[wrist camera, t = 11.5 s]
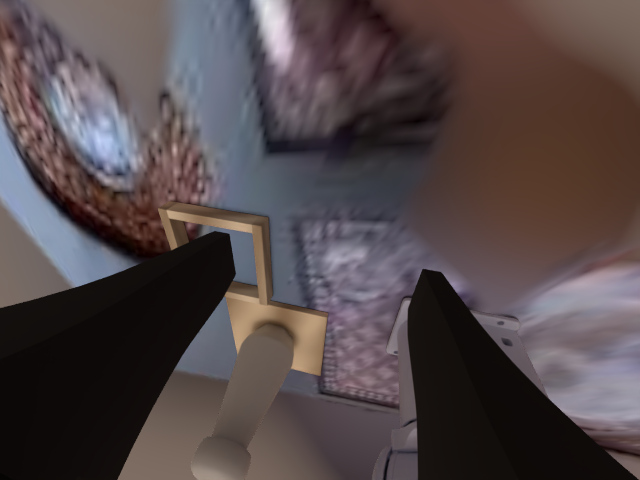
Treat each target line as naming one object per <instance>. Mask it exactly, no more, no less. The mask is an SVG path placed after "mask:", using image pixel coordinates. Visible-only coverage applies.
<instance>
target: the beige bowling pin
mask: <svg viewBox="0 0 640 480" xmlns="http://www.w3.org/2000/svg"><path fill="white" fill-rule="evenodd" d="M293 357H294V349H293V338H292V336H291V335H290V334H289V333H288V332H287V331H286V329H285V328H284V327H281V326H277V325H273V324H270V323H267V324H265V325H263V326H262V327H260V328H258V329H257V330H256V331H254V332H253V333H251V334H250V335H249V336H248V337H247V338H246V339H245V340H244V341H243V343H242V344H241V347H240V350H239V353H238V356H237V359H236V362H235V366H234V369H233V372H232V375H231V378H230V381H229V384H228V387H227V390H226V394H225V397H224V400H223V403H222V406H221V409H220V412H219V415H218V418H217V422H216V425H215V428H214V431H213V434H212V437H206V438H205V439H203V441H202V442H201V443H200V445H199V446H198V448H197V450H196V452H195V453H194V456H193V459H192V462H191V469H192V473H193V475H194V476H195V477H196V478H197V479H198V480H245V478H246V476H247V473H248V470H249V466H250V460H251V455H250V453H249V452H248V451H247V447H248V445H249V443H250V441H251V440H252V438H253V436H254V434H255V432H256V430H257V429H258V427H259V425H260V423H261V421H262V420H263V418H264V416H265V414H266V412H267V410H268V409H269V407H270V405H271V403H272V401H273V400H274V398H275V396H276V394H277V392H278V390H279V389H280V387H281V385H282V383H283V381H284V380H285V378H286V376H287V374H288V372H289V371H290V369H291V367H292V364H293Z"/></svg>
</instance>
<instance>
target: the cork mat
mask: <svg viewBox="0 0 640 480" xmlns="http://www.w3.org/2000/svg"><path fill="white" fill-rule="evenodd" d="M226 300H227V305H228V309H229V314H230V319H231V324H232V329H233V334H234V339H235V344H236V349H237V354H238V353H239V350H240V347H241V344H242V343H243V341H244V340H245V339H246V338H247V337H248V336H249V335H250V334H251V333H253V332H254V331H256V330H257V329H258V328H260V327H262V326H263V325H265V324H267V323H270V324H273V325H277V326H281V327H284V328H285V329H286V331H287V332H288V333H289V334H290V335H291V336H292V338H293V349H294V357H293V364H292V367H291V369H295V370H299V371H303V372H307V373H311V374H315V375H319V376H320V374H321V368H322V360H323V351H324V343H325V334H326V326H327V318H328V313H326V312H321V311H316V310H312V309H307V308H302V307H298V306H293V305H288V304H284V303H279V302H275V301H270V302H269V304H268V306H265V305H260V304H256V303H251V302H247V301H242V300H238V299H233V298H228V297H226Z"/></svg>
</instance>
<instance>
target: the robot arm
mask: <svg viewBox="0 0 640 480" xmlns="http://www.w3.org/2000/svg"><path fill="white" fill-rule="evenodd" d="M235 275H236V272H235V266H234V260H233V253H232V247H231V241H230V235H229V234H227V233H222V232H216V231H214V232H211V233H209V234H206V235H204V236H202V237H199V238H197V239H195V240H193V241H190V242H188V243H186V244H184V245H182V246H179V247H177V248H175V249H173V250H171V251H169V252H166V253H164V254H162V255H160V256H157V257H155V258H153V259H150V260H148V261H146V262H143V263H141V264H138V265H136V266H134V267H131V268H129V269H126V270H124V271H121V272H119V273H116V274H113V275H111V276H108V277H105V278H102V279H99V280H96V281H94V282H91V283H88V284H85V285H82V286H79V287H75V288H72V289H69V290H65V291H62V292H58V293H55V294H52V295H48V296H45V297H41V298H38V299H34V300H31V301H27V302H23V303H19V304H15V305H11V306H7V307H4V308H0V480H117V479H118V477H119V475H120V473H121V470H122V468H123V466H124V464H125V462H126V460H127V458H128V456H129V453H130V451H131V449H132V447H133V445H134V443H135V441H136V439H137V437H138V435H139V433H140V431H141V429H142V427H143V425H144V424H145V422H146V420H147V418H148V416H149V414H150V412H151V410H152V408H153V406H154V404H155V403H156V401H157V398H158V397H159V395H160V393H161V391H162V390H163V388H164V386H165V384H166V382H167V381H168V379H169V377H170V375H171V374H172V372H173V370H174V369H175V367H176V365H177V364H178V362H179V360H180V358H181V357H182V355H183V354H184V352H185V351H186V349H187V348H188V346H189V345H190V343H191V342H192V340H193V339H194V338H195V336H196V335H197V334H198V332H199V331H200V329H201V328H202V327H203V325H204V324H205V322H206V321H207V320H208V318H209V317H210V316H211V314H212V313H213V311H214V310H215V309H216V307H217V306H218V304H219V303H220V301H221V300H222V299H223V297H224V296H225V294H226V292H227V290H228V288H229V287H230V285H231V283H232V281H233V279H234V277H235ZM499 321H500V322H499ZM519 327H520V323H519V321H518V320H517V319H514V318H509V317H504V316H499V315H494V314H489V313H484V312H479V311H474V310H469V309H468V308H467V306H466V305H465V304H464V302H463V301H462V300H461V298H460V297H459V296H458V294H457V293H456V292H455V290H454V289H453V287H452V286H451V285H450V283H449V282H448V281H447V279H446V278H445V276H444V275H443V274H442V273H441V272H438V271H432V270H427V269H422V272H421V275H420V277H419V280H418V283H417V285H416V288H415V291H414V293H413V296H412V298H405V299H403V301H402V304H401V307H400V309H399V312H398V315H397V318H396V321H395V324H394V327H393V330H392V332H391V335H390V338H389V341H388V344H387V347H386V351H387V352H388V353H389V354H393V355H398V372H399V400H400V429H393V430H392V446H387V447H385V448H384V449H383V450H382V451H381V453H380V455H379V458H378V460H377V462H376V464H375V467H374V471H373V476H372V480H638V479H637V478H636V477H635V476H634V475H633V474H631V473H630V472H629V471H628V470H627V469H625V468H624V467H623V466H622V465H621V464H620V463H619V462H617V461H616V460H615V459H614V458H613V457H612V456H611V455H609V454H608V453H607V452H606V451H605V450H604V449H603V448H601V447H600V446H599V445H598V444H597V443H596V442H595V441H594V440H592V439H591V438H590V437H589V436H588V435H587V434H586V433H585V432H584V431H583V430H582V429H581V428H579V427H578V426H577V425H576V424H575V423H574V422H573V421H572V420H571V419H570V418H569V417H568V416H566V415H565V414H564V413H563V412H562V411H561V410H560V409H559V408H558V407H557V406H556V405H555V404H554V403H553V402H552V401H551V400H550V399H549V398H548V396H547V394H546V392H545V390H544V387H543V385H542V383H541V381H540V379H539V377H538V375H537V373H536V371H535V369H534V367H533V365H532V363H531V361H530V359H529V357H528V355H527V353H526V351H525V349H524V346H523V344H522V342H521V340H520V338H519V336H518V334H517V332H516V331H517V330H518V328H519Z"/></svg>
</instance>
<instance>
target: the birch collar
mask: <svg viewBox="0 0 640 480" xmlns="http://www.w3.org/2000/svg"><path fill="white" fill-rule="evenodd" d="M158 210H159V214H160V217H161V220H162V223H163V226H164V229H165V232H166V235H167V238H168V241H169V244H170V247H171V250H173V249H175V248H177V247H179V246H182V245H184V244H186V243H188V242H189V240H188V237H187V233H186V229H185V226H184V222H183V221H187V222H192V223H198V224H204V225H209V226H215V227H221V228H226V229H232V230H237V231H243V232H249V233H253V243H254V252H255V262H256V272H257V282H258V286H253V285H248V284H243V283H238V282H234V281H232V283H231V285H230V287H229V288H228V290H227V292H226V294H225V296H224V297H228V298H233V299H238V300H242V301H247V302H251V303H256V304H260V305H265V306H268V304H269V302H270V300H271V298H272V296H273V289H272V271H271V254H270V237H269V219H268V217H263V216H257V215H251V214H245V213H239V212H233V211H227V210H221V209H215V208H209V207H203V206H197V205H191V204H185V203H179V202H173V201H169V202H168V203H166V204H164V205H163V206H161V207H159V208H158Z"/></svg>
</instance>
